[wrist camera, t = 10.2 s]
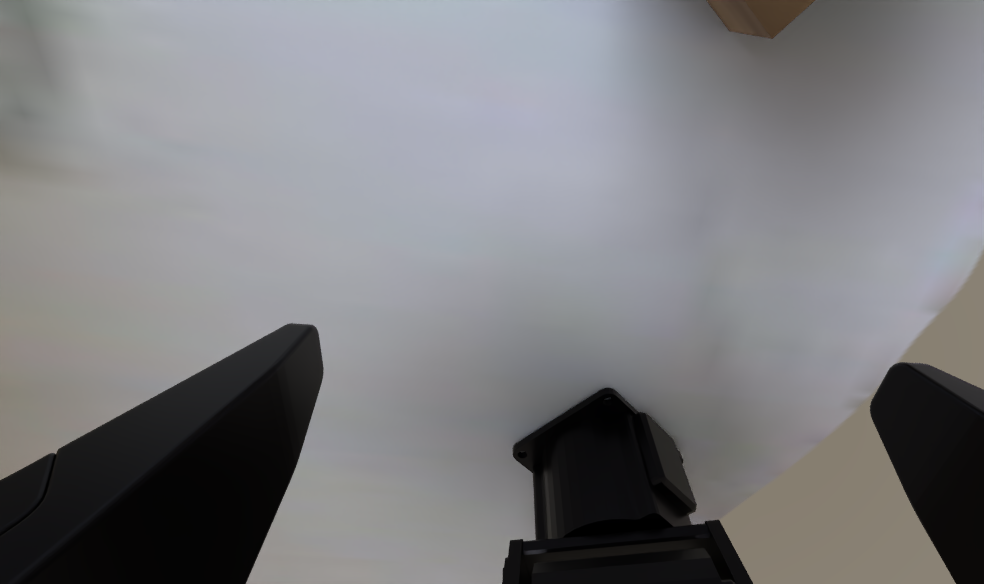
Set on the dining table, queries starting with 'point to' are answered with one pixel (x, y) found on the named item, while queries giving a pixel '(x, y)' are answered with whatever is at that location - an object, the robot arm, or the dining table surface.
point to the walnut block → (758, 15)
